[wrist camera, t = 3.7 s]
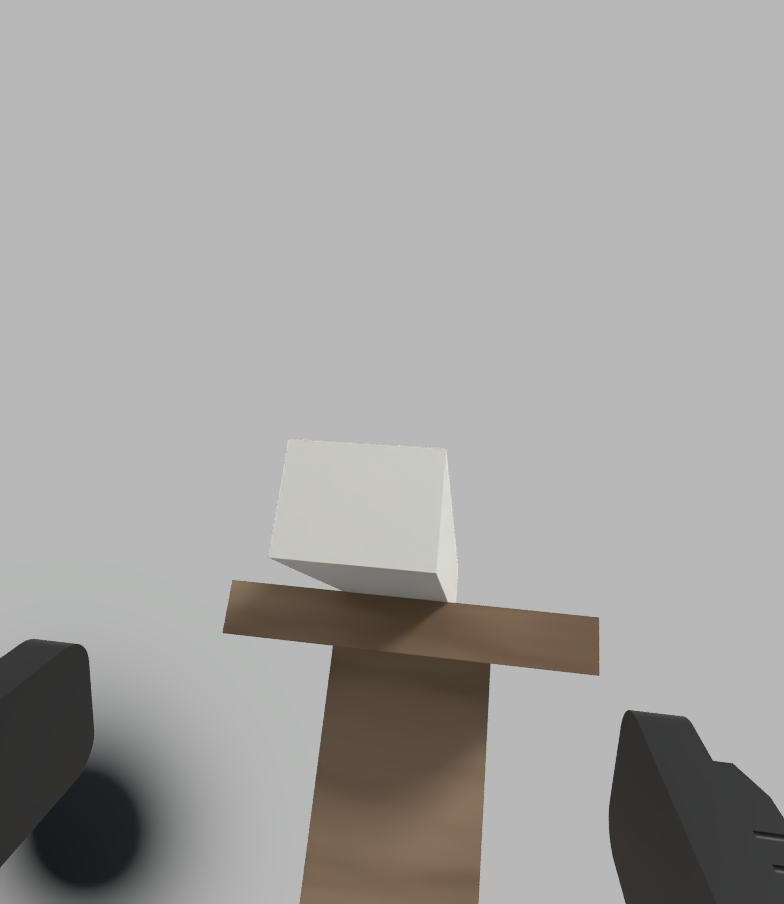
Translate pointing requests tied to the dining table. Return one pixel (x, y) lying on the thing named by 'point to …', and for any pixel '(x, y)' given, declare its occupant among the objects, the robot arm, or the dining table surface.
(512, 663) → the stand
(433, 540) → the white long block
